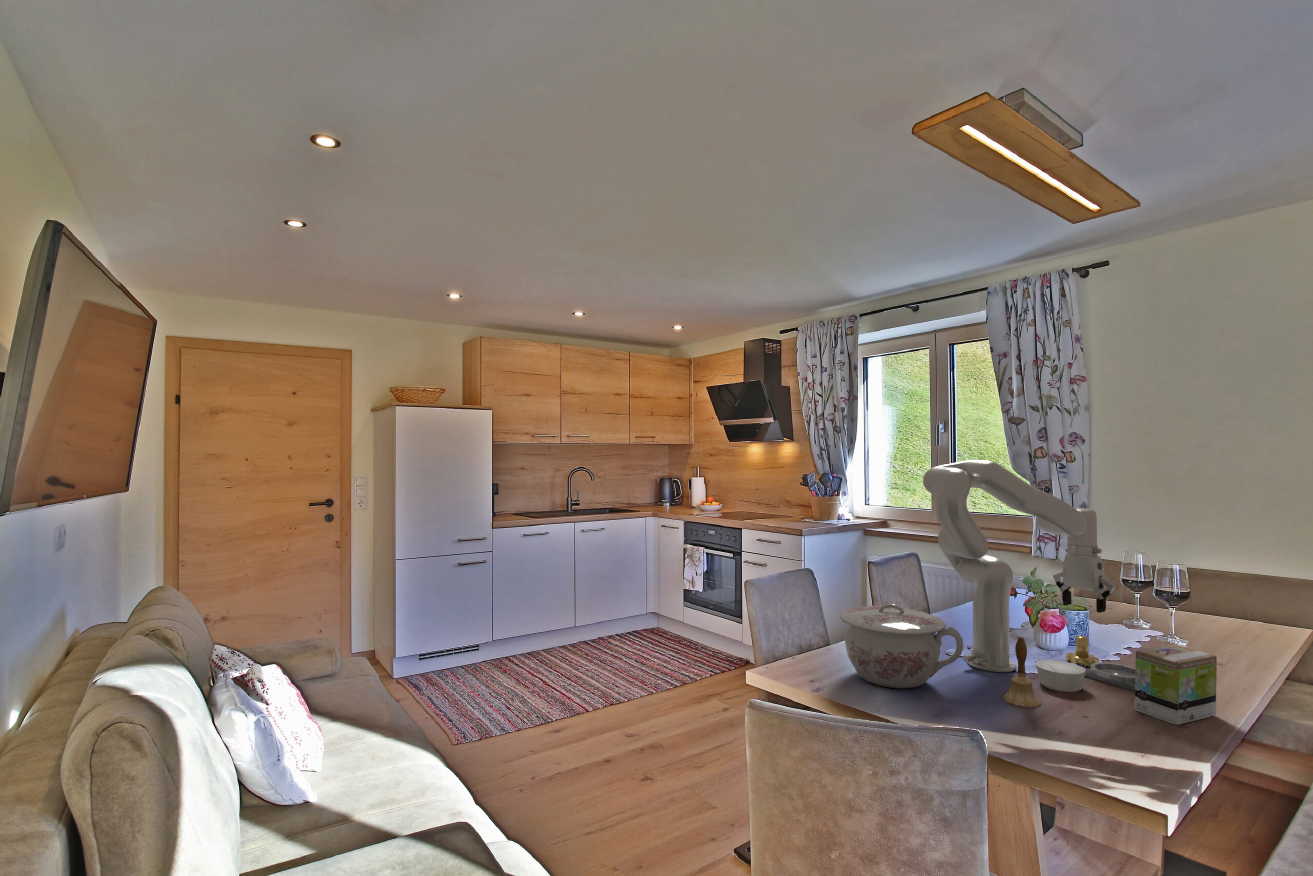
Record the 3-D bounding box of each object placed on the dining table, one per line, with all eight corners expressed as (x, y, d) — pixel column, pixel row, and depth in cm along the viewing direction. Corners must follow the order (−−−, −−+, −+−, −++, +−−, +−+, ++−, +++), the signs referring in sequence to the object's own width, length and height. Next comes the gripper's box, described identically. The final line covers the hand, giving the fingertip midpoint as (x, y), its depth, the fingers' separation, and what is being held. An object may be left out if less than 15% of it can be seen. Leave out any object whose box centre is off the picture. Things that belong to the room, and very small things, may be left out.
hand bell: (1040, 710, 159) (1040, 644, 159) (1001, 703, 163) (1001, 638, 164) (1041, 699, 166) (1041, 635, 166) (1004, 692, 170) (1004, 630, 171)
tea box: (1180, 727, 150) (1179, 662, 150) (1133, 711, 159) (1132, 649, 159) (1218, 716, 156) (1217, 654, 156) (1170, 701, 165) (1170, 642, 165)
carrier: (1149, 696, 168) (1149, 677, 168) (1081, 675, 183) (1081, 657, 183) (1175, 688, 174) (1175, 669, 174) (1106, 668, 189) (1106, 651, 189)
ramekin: (1026, 682, 178) (1026, 662, 178) (1054, 676, 182) (1054, 657, 182) (1066, 697, 168) (1066, 676, 168) (1095, 690, 172) (1095, 670, 172)
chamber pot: (819, 669, 187) (819, 596, 188) (898, 659, 197) (897, 589, 197) (885, 706, 161) (885, 621, 161) (972, 692, 171) (971, 612, 171)
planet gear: (1088, 668, 189) (1088, 642, 189) (1059, 660, 196) (1059, 635, 196) (1105, 664, 193) (1104, 638, 193) (1076, 656, 200) (1076, 631, 200)
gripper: (1121, 553, 189) (1122, 613, 189) (1060, 545, 204) (1062, 600, 204) (1105, 555, 185) (1107, 616, 185) (1045, 547, 201) (1047, 603, 201)
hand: (1083, 608), depth 195 cm, fingers open, 9 cm apart
